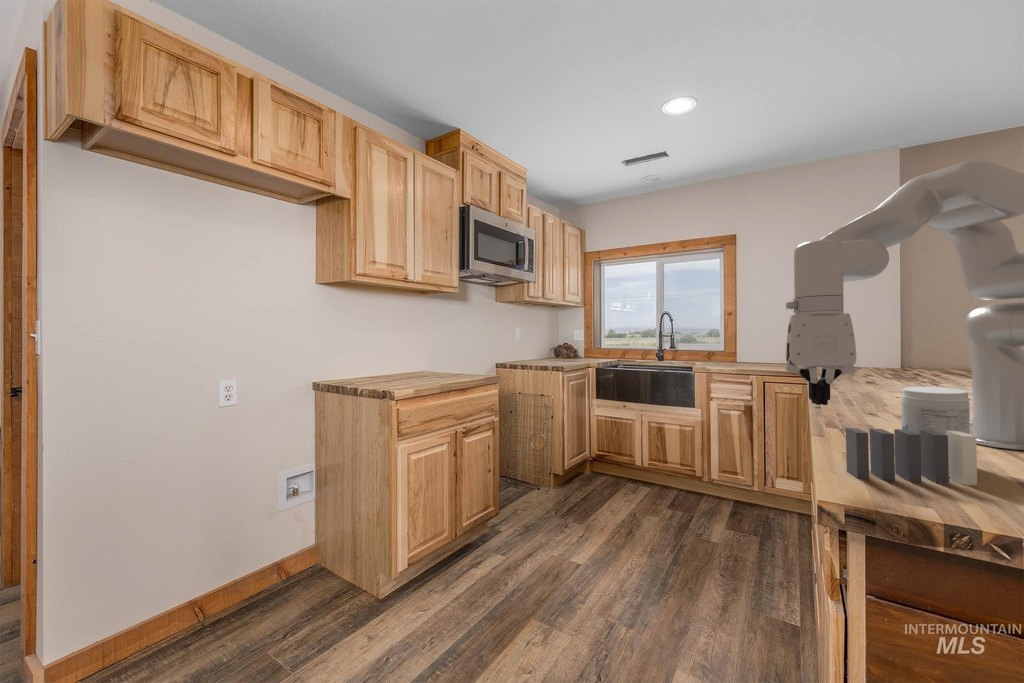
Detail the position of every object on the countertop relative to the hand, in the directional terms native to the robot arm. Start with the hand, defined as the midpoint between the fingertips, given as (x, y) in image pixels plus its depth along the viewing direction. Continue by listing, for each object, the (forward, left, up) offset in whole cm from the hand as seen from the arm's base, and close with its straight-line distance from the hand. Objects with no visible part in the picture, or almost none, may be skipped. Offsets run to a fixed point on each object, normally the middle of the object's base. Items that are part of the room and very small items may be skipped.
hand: (819, 403), depth 80 cm
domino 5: (0, +21, -13) cm, 25 cm away
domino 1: (0, +6, -13) cm, 15 cm away
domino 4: (0, +17, -13) cm, 22 cm away
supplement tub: (-11, +23, -14) cm, 29 cm away
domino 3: (0, +14, -13) cm, 19 cm away
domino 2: (0, +10, -13) cm, 17 cm away
